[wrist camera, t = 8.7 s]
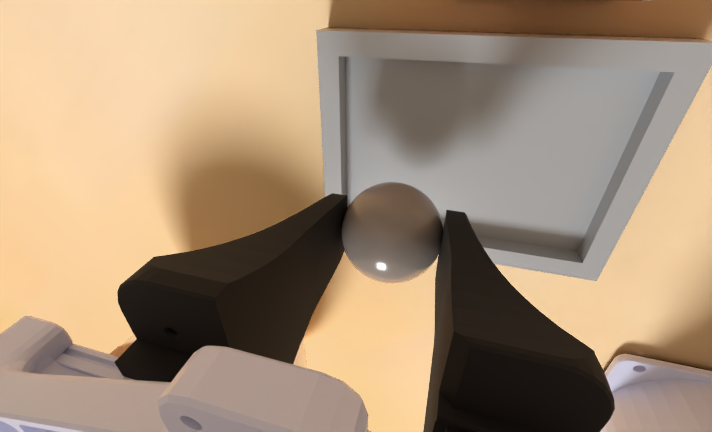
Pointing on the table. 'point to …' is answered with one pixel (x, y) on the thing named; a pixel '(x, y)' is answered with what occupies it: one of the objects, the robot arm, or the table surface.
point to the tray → (509, 130)
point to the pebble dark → (392, 232)
